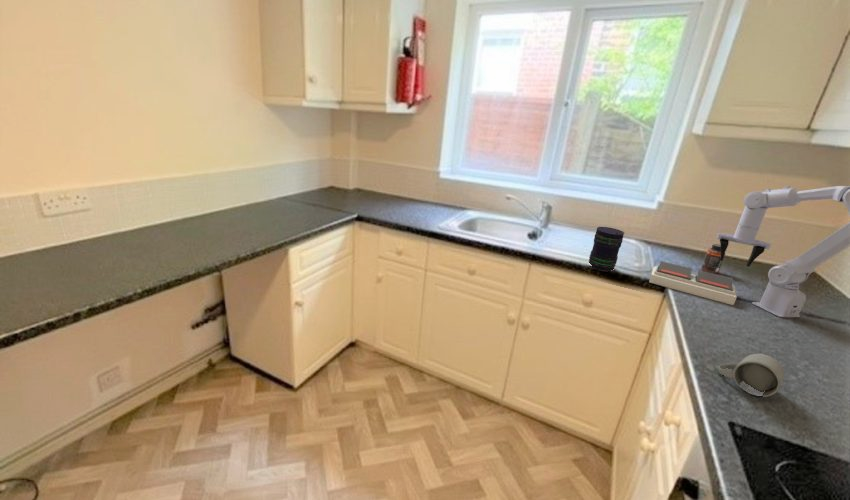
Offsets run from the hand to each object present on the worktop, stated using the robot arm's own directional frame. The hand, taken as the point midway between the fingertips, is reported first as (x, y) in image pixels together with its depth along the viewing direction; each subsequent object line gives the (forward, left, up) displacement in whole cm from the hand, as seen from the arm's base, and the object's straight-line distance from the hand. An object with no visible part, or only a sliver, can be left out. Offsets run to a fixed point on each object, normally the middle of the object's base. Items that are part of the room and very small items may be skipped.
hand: (734, 262), depth 136 cm
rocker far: (+5, +18, -6) cm, 20 cm away
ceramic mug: (-49, +47, -11) cm, 68 cm away
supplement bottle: (+17, -11, -11) cm, 23 cm away
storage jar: (+20, +37, -11) cm, 43 cm away
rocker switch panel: (+1, +14, -10) cm, 17 cm away
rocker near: (-3, +10, -6) cm, 12 cm away
